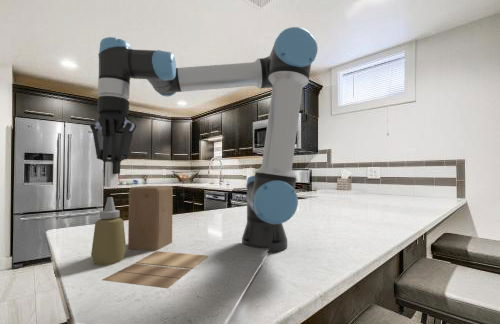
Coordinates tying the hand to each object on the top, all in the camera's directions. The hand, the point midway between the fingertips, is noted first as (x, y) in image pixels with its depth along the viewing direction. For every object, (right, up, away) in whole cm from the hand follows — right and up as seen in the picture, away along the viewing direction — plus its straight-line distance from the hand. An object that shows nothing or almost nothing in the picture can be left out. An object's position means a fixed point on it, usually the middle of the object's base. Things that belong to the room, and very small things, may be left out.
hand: (111, 186), depth 68 cm
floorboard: (+14, -21, -10) cm, 27 cm away
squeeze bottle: (0, -21, -1) cm, 21 cm away
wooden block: (+6, -22, +13) cm, 26 cm away
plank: (+16, -21, -1) cm, 26 cm away
